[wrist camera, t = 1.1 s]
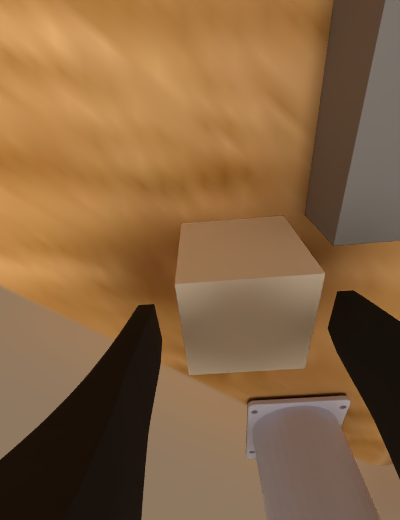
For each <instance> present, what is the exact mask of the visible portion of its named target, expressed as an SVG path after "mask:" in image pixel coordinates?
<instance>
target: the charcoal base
mask: <svg viewBox="0 0 400 520" xmlns="http://www.w3.org/2000/svg"><path fill="white" fill-rule="evenodd" d="M305 215H306V216H307V217H308V218H309V220H310V221H311V222H312V223H313V224H314V225H315V226H316V227H317V228H318V229H319V231H320V232H321V233H322V234H323V235H324V236H325V237H326V238H327V239H328V241H329V242H330V243H331V244H332V245H333V246H339V245H352V244H364V243H377V242H389V241H400V0H334V3H333V10H332V18H331V25H330V33H329V40H328V47H327V55H326V62H325V70H324V77H323V84H322V92H321V99H320V107H319V114H318V121H317V129H316V136H315V144H314V151H313V158H312V166H311V173H310V181H309V188H308V195H307V203H306V210H305Z"/></svg>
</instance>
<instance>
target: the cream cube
mask: <svg viewBox="0 0 400 520" xmlns="http://www.w3.org/2000/svg"><path fill="white" fill-rule="evenodd" d="M324 278H325V272H324V271H323V270H322V268H321V267H320V265H319V264H318V263H317V261H316V260H315V258H314V257H313V256H312V254H311V253H310V251H309V250H308V249H307V247H306V246H305V245H304V243H303V242H302V240H301V239H300V238H299V236H298V235H297V233H296V232H295V231H294V229H293V228H292V227H291V225H290V224H289V222H288V221H287V220H286V218H285V217H284V215H283V216H270V217H257V218H244V219H231V220H217V221H204V222H191V223H181V232H180V241H179V250H178V259H177V268H176V277H175V289H176V296H177V302H178V308H179V314H180V320H181V327H182V333H183V339H184V345H185V352H186V358H187V364H188V370H189V375H202V374H219V373H236V372H253V371H270V370H286V369H303V368H305V366H306V361H307V357H308V352H309V348H310V343H311V338H312V334H313V329H314V324H315V320H316V315H317V310H318V306H319V301H320V296H321V292H322V287H323V283H324Z"/></svg>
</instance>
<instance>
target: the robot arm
mask: <svg viewBox="0 0 400 520" xmlns="http://www.w3.org/2000/svg"><path fill="white" fill-rule="evenodd" d="M328 331H329V333H330V336H331V339H332V341H333V344H334V346H335V348H336V351H337V353H338V355H339V357H340V359H341V361H342V362H343V364H344V366H345V368H346V370H347V372H348V373H349V375H350V377H351V379H352V381H353V382H354V384H355V386H356V388H357V389H358V391H359V393H360V395H361V397H362V398H363V400H364V402H365V404H366V406H367V407H368V409H369V411H370V413H371V415H372V417H373V419H374V421H375V423H376V425H377V427H378V430H379V432H380V434H381V436H382V439H383V441H384V443H385V445H386V448H387V450H388V452H389V455H390V457H391V459H392V462H393V464H394V467H395V469H396V471H397V474H398V476H399V478H400V321H398V320H397V319H395V318H394V317H393V316H391V315H390V314H388V313H387V312H385V311H384V310H382V309H381V308H379V307H378V306H376V305H375V304H373V303H372V302H370V301H369V300H367V299H366V298H364V297H363V296H361V295H360V294H358V293H357V292H355V291H339V292H337V295H336V299H335V303H334V306H333V310H332V314H331V318H330V322H329V326H328ZM161 350H162V337H161V332H160V328H159V323H158V319H157V315H156V310H155V306H154V304H150V305H139V306H138V307H137V308H136V310H135V311H134V313H133V314H132V316H131V317H130V319H129V320H128V322H127V323H126V325H125V326H124V328H123V329H122V331H121V332H120V334H119V335H118V336H117V338H116V339H115V341H114V342H113V343H112V345H111V346H110V347H109V349H108V350H107V352H106V353H105V354H104V355H103V357H102V358H101V359H100V361H99V362H98V363H97V364H96V365H95V367H94V368H93V369H92V370H91V372H90V373H89V374H88V375H87V376H86V377H85V379H84V380H83V381H82V382H81V383H80V384H79V385H78V386H77V388H76V389H75V390H74V391H73V392H72V393H71V394H70V395H69V396H68V397H67V399H65V400H64V402H62V403H61V404H60V405H59V407H57V408H56V410H54V411H53V413H51V414H50V415H49V416H48V417H47V418H46V419H45V420H44V421H43V422H42V423H41V424H40V425H39V426H38V427H37V428H36V429H35V430H34V431H32V432H31V433H30V434H29V435H28V436H27V437H26V438H25V439H23V440H22V441H21V442H20V443H19V444H18V445H17V446H16V447H14V448H13V449H12V450H11V451H10V452H9V453H8V454H7V455H5V456H4V457H3V458H2V459H1V460H0V520H141V516H142V501H143V487H144V476H145V463H146V453H147V442H148V433H149V426H150V419H151V414H152V408H153V403H154V397H155V392H156V386H157V381H158V375H159V369H160V364H161ZM350 403H351V401H350V399H349V397H347V396H327V397H309V398H291V399H274V400H256V401H250V402H249V403H248V406H247V437H246V457H247V458H248V459H257V464H258V470H259V476H260V482H261V488H262V494H263V500H264V506H265V512H266V518H267V520H381V519H380V516H379V514H378V512H377V509H376V507H375V505H374V503H373V500H372V498H371V496H370V493H369V491H368V489H367V487H366V485H365V482H364V480H363V477H362V475H361V473H360V470H359V468H358V466H357V463H356V461H355V459H354V457H353V454H352V452H351V450H350V447H349V445H348V443H347V441H346V438H345V436H344V434H343V431H342V429H341V425H342V423H343V420H344V418H345V415H346V413H347V411H348V408H349V406H350Z"/></svg>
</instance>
